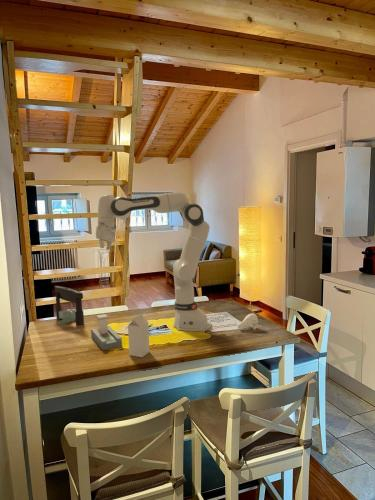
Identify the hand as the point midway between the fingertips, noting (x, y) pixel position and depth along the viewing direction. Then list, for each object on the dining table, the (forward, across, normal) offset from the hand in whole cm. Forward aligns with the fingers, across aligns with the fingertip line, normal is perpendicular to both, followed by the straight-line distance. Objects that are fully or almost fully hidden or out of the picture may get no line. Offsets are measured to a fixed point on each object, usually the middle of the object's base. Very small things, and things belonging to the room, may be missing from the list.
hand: (105, 249), depth 196 cm
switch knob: (+45, +1, 0) cm, 45 cm away
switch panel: (+50, -2, -2) cm, 50 cm away
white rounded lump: (+45, +20, -77) cm, 92 cm away
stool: (+43, +30, +33) cm, 62 cm away
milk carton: (+53, -16, -24) cm, 60 cm away
